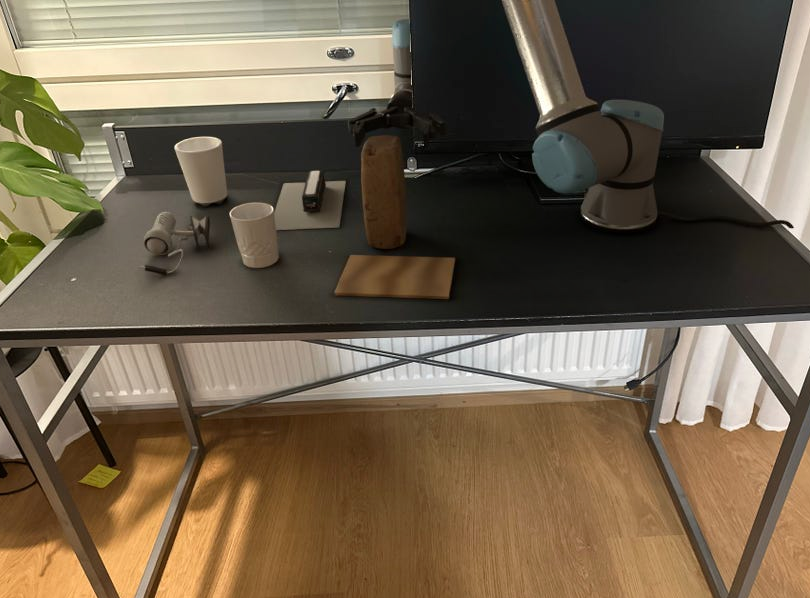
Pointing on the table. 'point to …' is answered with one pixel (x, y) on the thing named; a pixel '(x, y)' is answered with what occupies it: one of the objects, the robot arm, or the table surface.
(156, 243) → the clip-on lamp
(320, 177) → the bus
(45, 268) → the table surface
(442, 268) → the cork mat
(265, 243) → the white cup
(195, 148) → the cup
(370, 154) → the block
